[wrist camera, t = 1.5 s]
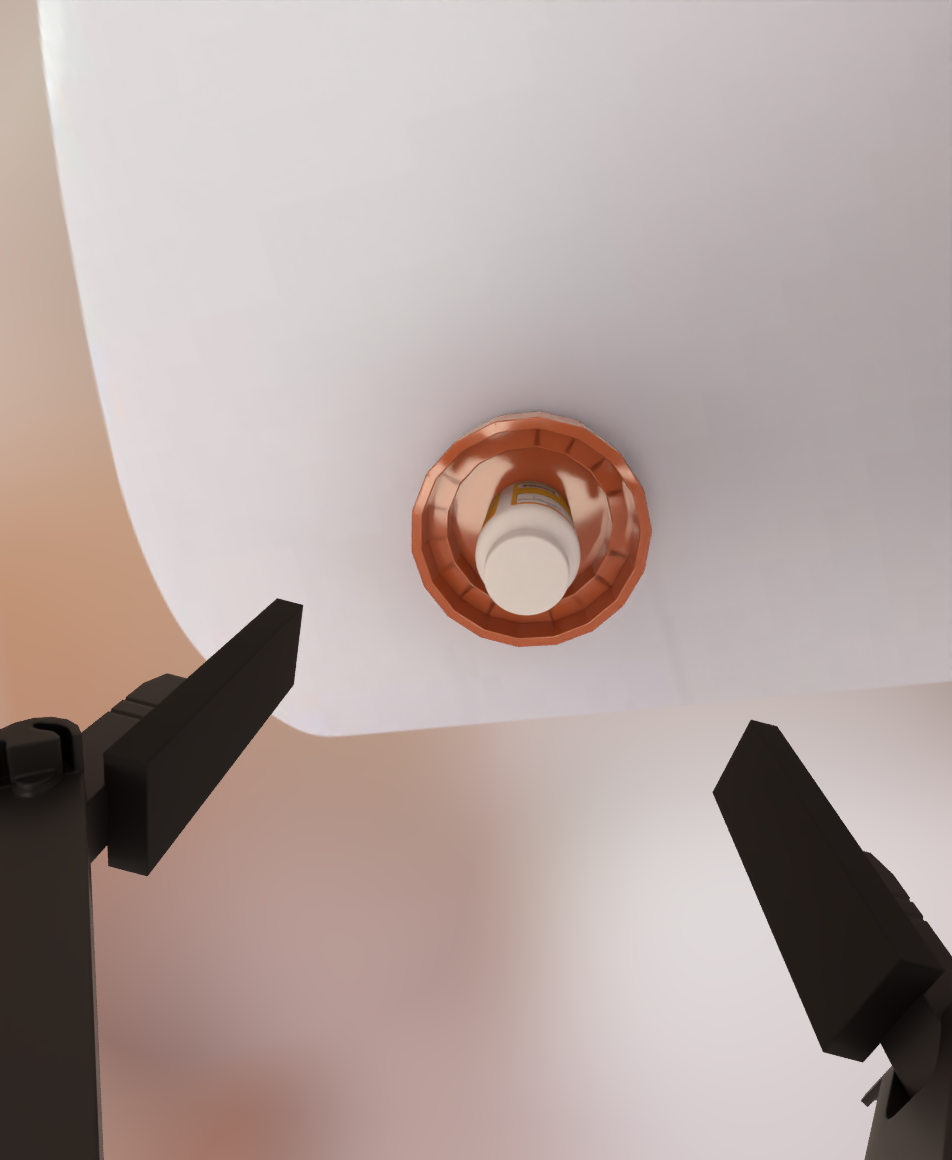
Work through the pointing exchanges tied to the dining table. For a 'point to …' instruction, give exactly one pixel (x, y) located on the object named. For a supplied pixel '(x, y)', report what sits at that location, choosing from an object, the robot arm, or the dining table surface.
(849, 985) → the robot arm
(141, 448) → the dining table surface
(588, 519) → the bowl
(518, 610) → the supplement bottle
